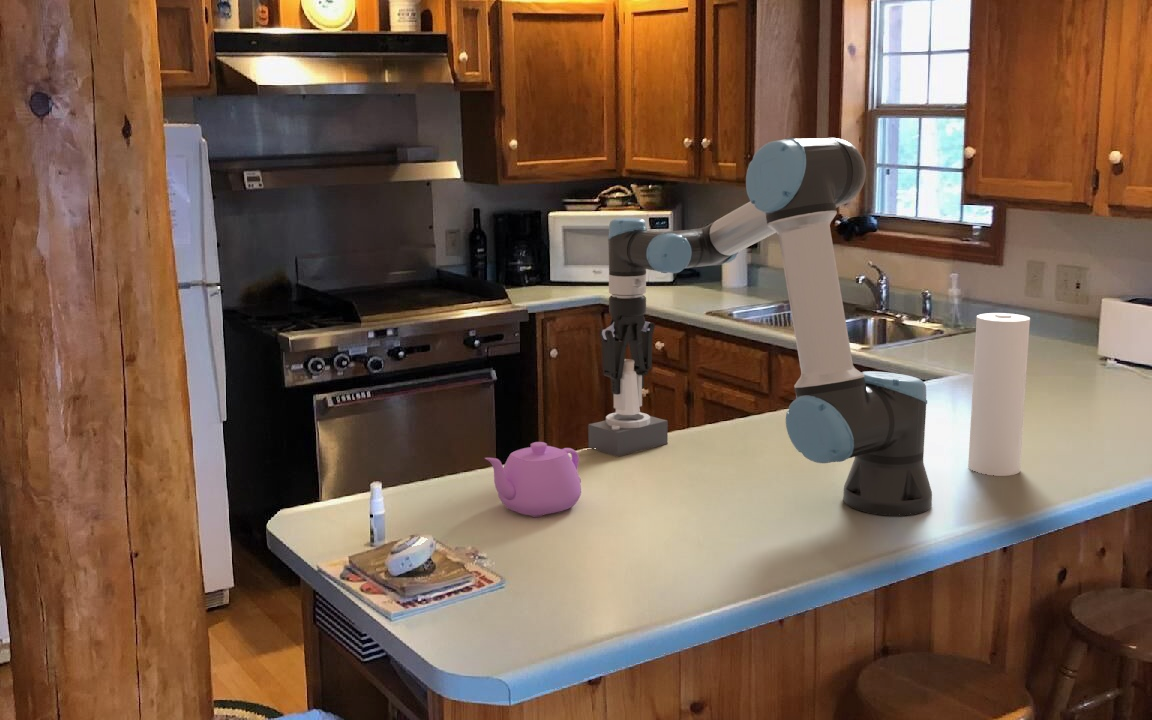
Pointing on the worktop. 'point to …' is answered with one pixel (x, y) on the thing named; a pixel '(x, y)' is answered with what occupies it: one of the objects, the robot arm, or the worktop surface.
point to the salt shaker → (630, 389)
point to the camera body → (627, 433)
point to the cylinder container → (998, 393)
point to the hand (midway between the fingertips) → (627, 406)
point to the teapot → (538, 479)
